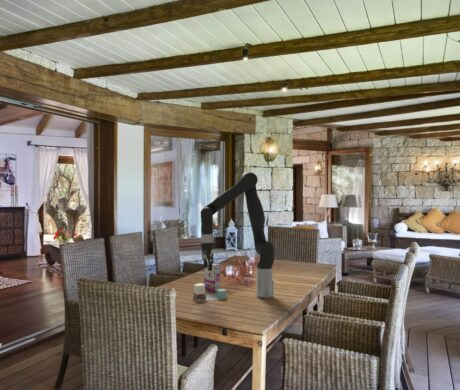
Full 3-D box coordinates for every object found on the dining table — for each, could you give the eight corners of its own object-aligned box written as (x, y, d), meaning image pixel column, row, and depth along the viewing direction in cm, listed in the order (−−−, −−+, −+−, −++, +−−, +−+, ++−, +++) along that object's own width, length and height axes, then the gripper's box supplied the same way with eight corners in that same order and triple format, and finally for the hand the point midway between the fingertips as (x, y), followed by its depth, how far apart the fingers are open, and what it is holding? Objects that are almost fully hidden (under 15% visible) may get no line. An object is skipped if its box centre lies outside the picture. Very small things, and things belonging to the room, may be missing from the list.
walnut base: (202, 296, 236) (202, 291, 236) (206, 299, 230) (206, 294, 230) (193, 297, 234) (193, 292, 234) (196, 300, 228) (196, 294, 228)
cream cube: (202, 291, 235) (202, 283, 235) (205, 293, 230) (205, 285, 230) (194, 292, 233) (194, 284, 233) (196, 294, 229) (196, 286, 228)
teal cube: (223, 296, 237) (223, 288, 236) (226, 298, 232) (226, 290, 232) (216, 297, 235) (216, 289, 235) (219, 299, 231) (219, 291, 231)
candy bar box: (220, 290, 251) (221, 264, 251) (214, 292, 248) (214, 265, 248) (210, 287, 260) (210, 262, 259) (204, 288, 256) (204, 263, 256)
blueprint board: (218, 293, 243) (218, 293, 243) (225, 299, 231) (225, 298, 231) (190, 296, 237) (190, 295, 237) (196, 302, 225) (196, 301, 225)
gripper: (217, 242, 227) (218, 271, 227) (209, 239, 240) (210, 266, 240) (204, 243, 224) (205, 272, 224) (197, 240, 237) (198, 267, 238)
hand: (207, 269), depth 232 cm, fingers open, 8 cm apart
